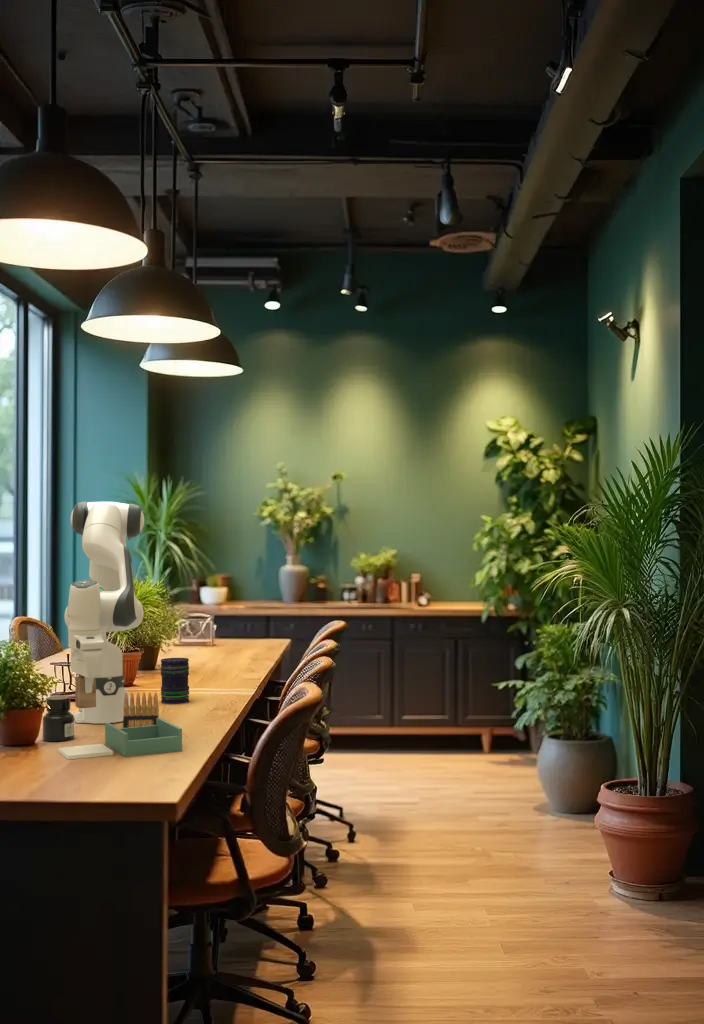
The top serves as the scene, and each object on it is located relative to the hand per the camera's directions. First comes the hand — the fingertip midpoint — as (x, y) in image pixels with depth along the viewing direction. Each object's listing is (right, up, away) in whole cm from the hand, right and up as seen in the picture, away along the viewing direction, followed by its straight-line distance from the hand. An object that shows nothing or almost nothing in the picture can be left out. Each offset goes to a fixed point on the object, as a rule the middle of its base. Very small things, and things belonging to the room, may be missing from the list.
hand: (85, 691), depth 297 cm
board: (0, -17, 0) cm, 17 cm away
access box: (+14, -17, +7) cm, 23 cm away
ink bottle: (-13, -17, +20) cm, 30 cm away
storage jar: (+10, -18, +86) cm, 89 cm away
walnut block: (0, -4, 0) cm, 4 cm away
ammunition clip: (+9, -17, +30) cm, 35 cm away
